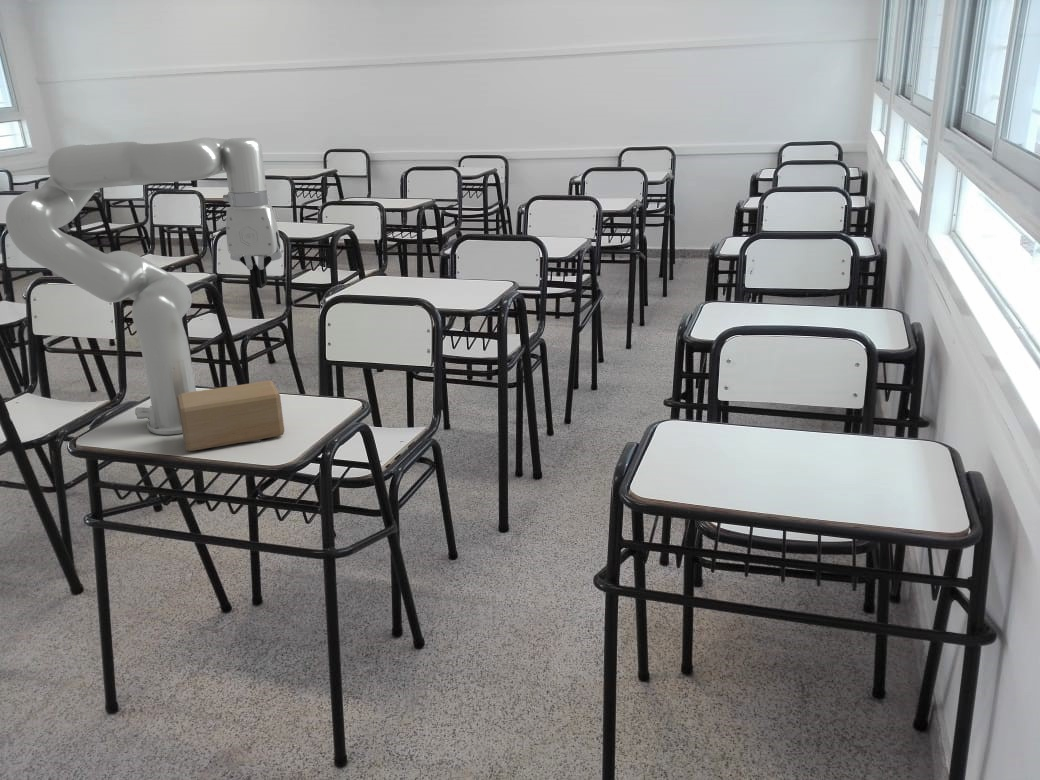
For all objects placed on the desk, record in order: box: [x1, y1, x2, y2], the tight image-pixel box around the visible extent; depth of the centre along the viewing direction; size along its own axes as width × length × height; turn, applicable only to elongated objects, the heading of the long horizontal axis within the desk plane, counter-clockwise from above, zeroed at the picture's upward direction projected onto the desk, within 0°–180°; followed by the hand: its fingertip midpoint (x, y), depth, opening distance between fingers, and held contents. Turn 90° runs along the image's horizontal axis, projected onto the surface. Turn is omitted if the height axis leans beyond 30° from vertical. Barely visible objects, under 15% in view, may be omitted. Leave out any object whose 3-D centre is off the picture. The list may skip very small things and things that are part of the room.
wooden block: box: [177, 380, 285, 452], centre depth 179 cm, size 10×10×20 cm
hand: (260, 286), depth 181 cm, fingers closed
